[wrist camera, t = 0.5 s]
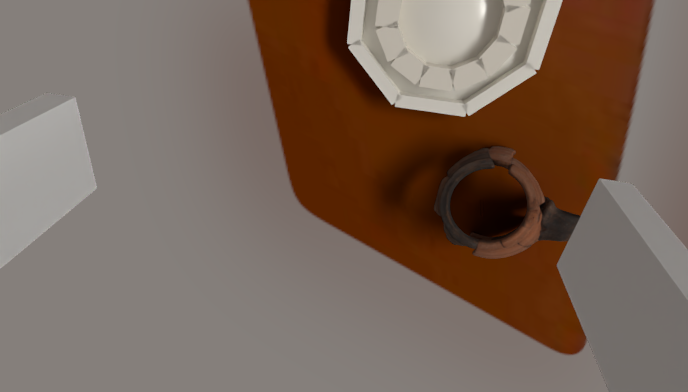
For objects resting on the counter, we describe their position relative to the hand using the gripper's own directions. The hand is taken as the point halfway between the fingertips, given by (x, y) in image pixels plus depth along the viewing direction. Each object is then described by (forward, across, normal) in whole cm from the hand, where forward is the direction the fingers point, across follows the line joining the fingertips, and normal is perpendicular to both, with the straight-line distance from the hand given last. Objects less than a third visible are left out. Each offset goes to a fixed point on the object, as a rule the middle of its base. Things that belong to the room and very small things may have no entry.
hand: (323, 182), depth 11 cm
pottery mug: (+25, +13, -14) cm, 31 cm away
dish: (+25, +5, +1) cm, 26 cm away
